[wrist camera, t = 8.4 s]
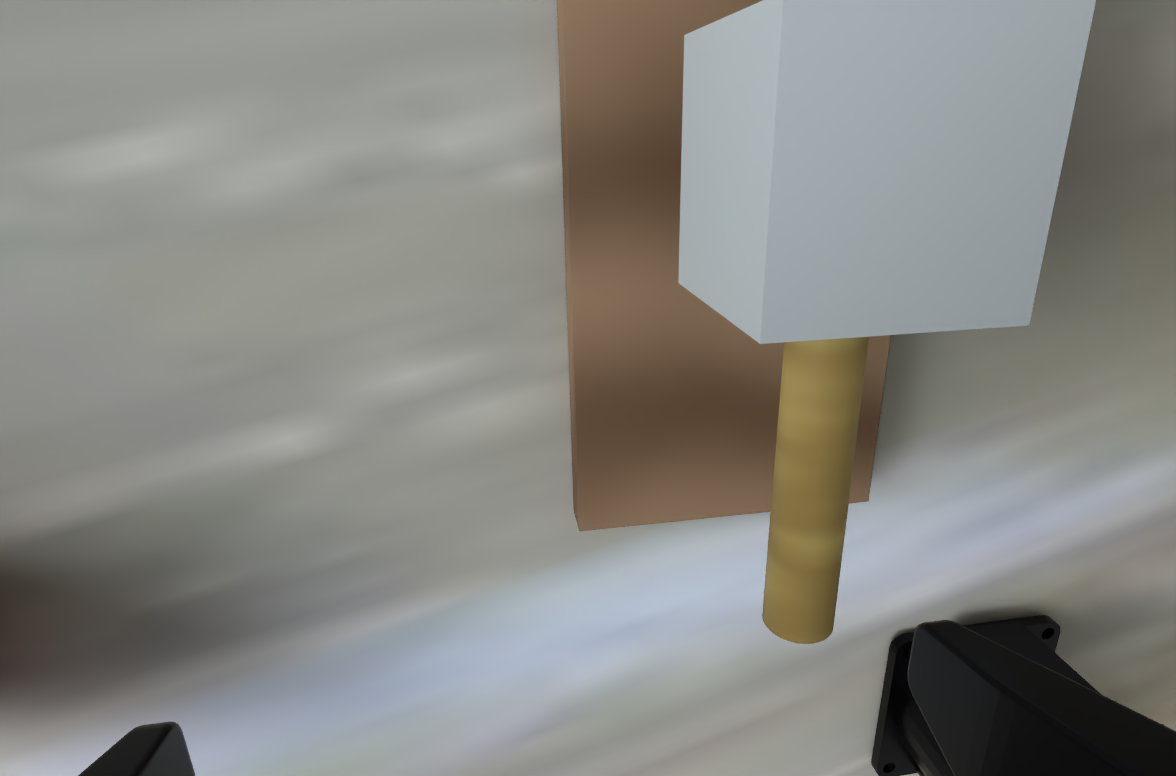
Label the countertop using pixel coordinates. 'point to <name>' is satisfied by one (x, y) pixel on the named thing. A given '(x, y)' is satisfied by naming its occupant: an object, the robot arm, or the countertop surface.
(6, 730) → the countertop surface
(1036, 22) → the white cube with hole
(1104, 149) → the countertop surface
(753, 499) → the cord clamp board
